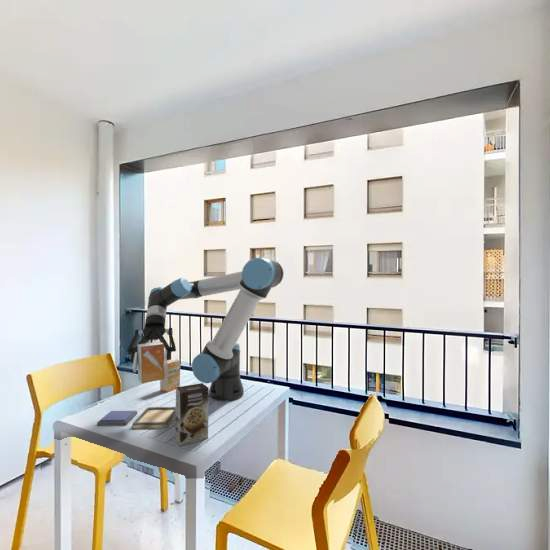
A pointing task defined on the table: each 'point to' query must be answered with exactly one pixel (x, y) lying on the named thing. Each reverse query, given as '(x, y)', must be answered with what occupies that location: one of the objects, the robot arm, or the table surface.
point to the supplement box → (171, 376)
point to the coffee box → (191, 413)
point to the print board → (155, 417)
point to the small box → (151, 362)
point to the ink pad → (117, 418)
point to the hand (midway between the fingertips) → (149, 368)
